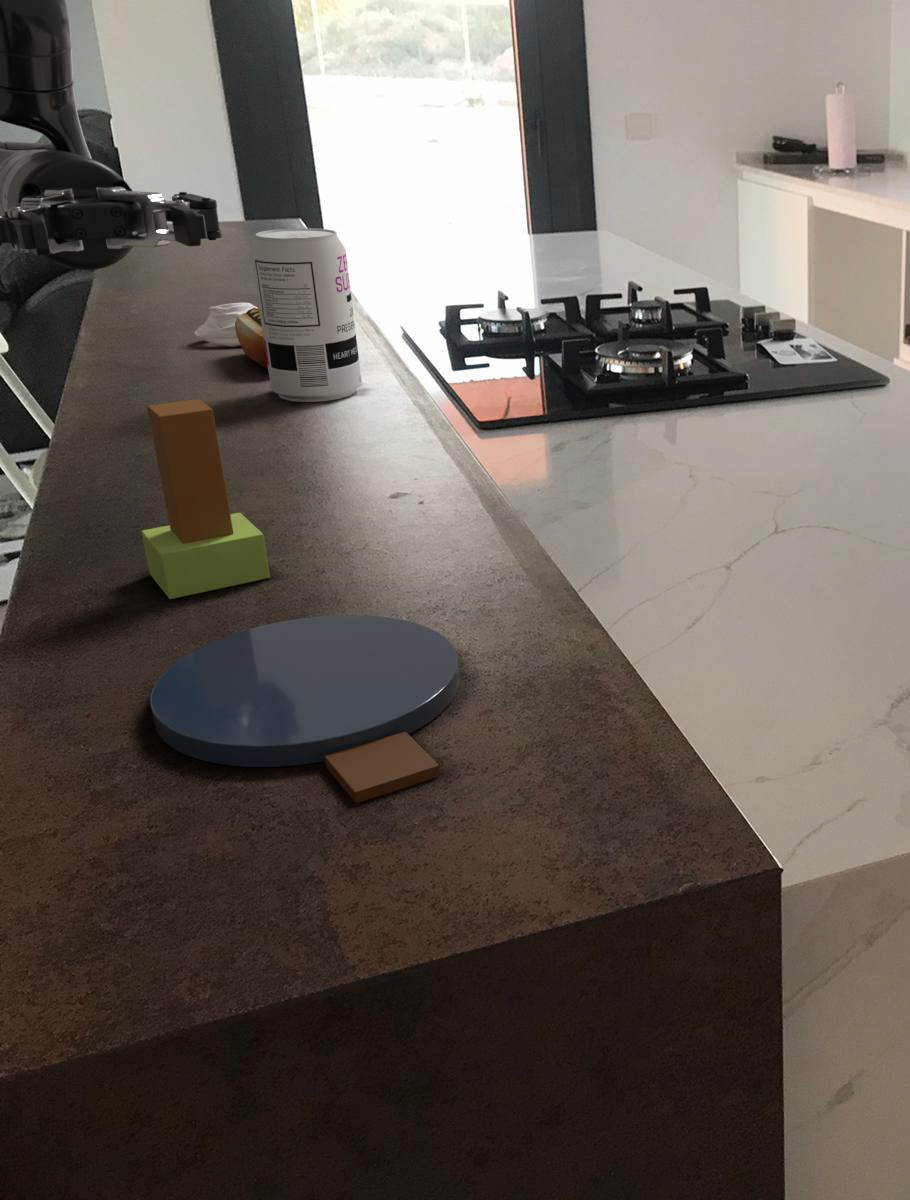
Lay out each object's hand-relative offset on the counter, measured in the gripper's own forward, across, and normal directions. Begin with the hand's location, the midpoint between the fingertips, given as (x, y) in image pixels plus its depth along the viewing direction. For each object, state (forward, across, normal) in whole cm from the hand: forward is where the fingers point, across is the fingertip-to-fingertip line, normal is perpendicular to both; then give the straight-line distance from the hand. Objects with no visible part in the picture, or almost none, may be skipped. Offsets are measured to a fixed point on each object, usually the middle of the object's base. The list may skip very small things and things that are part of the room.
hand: (119, 233), depth 78 cm
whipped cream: (-63, +21, +20) cm, 70 cm away
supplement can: (-35, +21, +20) cm, 46 cm away
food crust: (+36, 0, +21) cm, 42 cm away
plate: (+27, 0, +20) cm, 34 cm away
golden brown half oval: (-50, +21, +20) cm, 58 cm away
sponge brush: (+7, 0, +20) cm, 22 cm away
